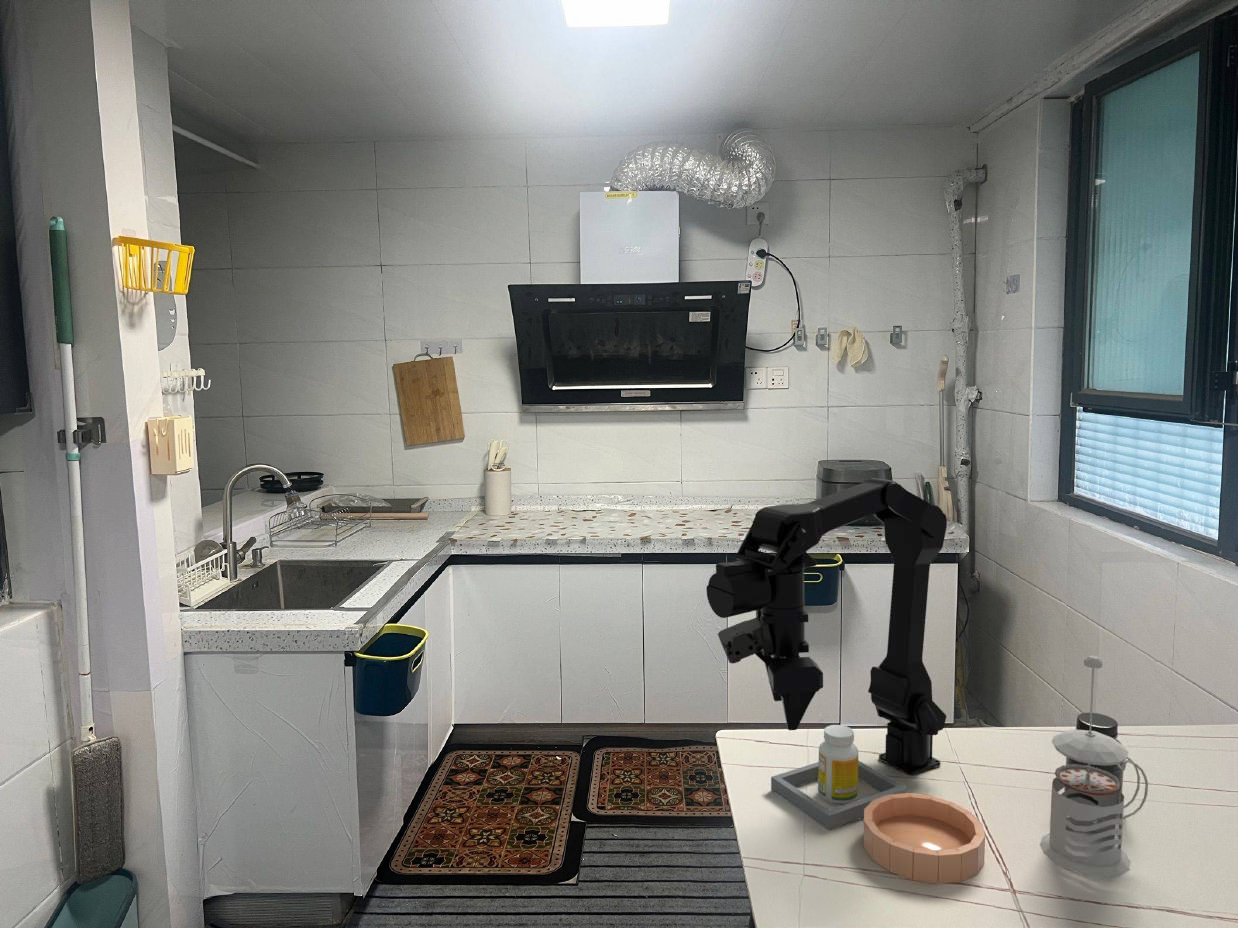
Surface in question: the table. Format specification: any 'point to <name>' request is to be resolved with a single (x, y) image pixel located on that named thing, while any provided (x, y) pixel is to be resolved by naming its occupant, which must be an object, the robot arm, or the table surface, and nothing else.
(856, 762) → the supplement bottle
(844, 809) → the open rectangular frame
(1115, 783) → the french press
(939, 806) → the bowl
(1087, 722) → the supplement bottle
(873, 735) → the table surface
